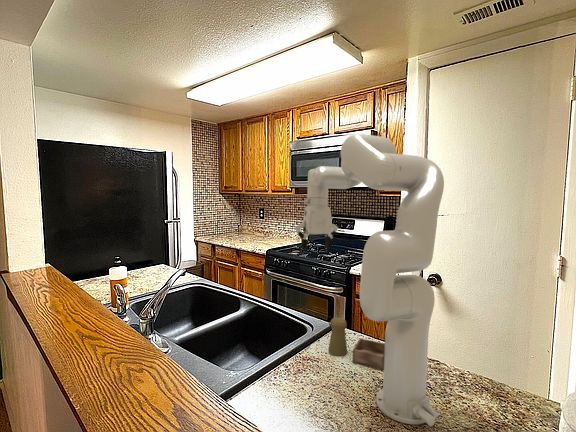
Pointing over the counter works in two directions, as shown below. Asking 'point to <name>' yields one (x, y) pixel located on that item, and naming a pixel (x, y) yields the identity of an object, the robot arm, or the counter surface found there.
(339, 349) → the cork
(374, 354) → the shaker caddy
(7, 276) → the counter surface
